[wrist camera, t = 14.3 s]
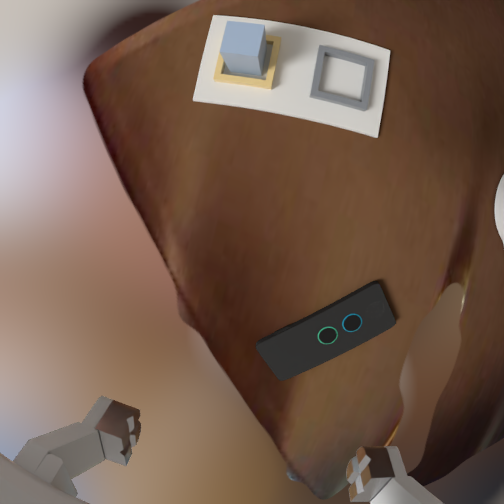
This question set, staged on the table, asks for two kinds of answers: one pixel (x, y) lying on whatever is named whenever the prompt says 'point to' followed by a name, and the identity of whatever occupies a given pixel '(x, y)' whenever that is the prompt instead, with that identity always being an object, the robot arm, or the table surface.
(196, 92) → the white board with frames
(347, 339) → the smart home device
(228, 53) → the plug
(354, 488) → the robot arm
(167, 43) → the table surface
